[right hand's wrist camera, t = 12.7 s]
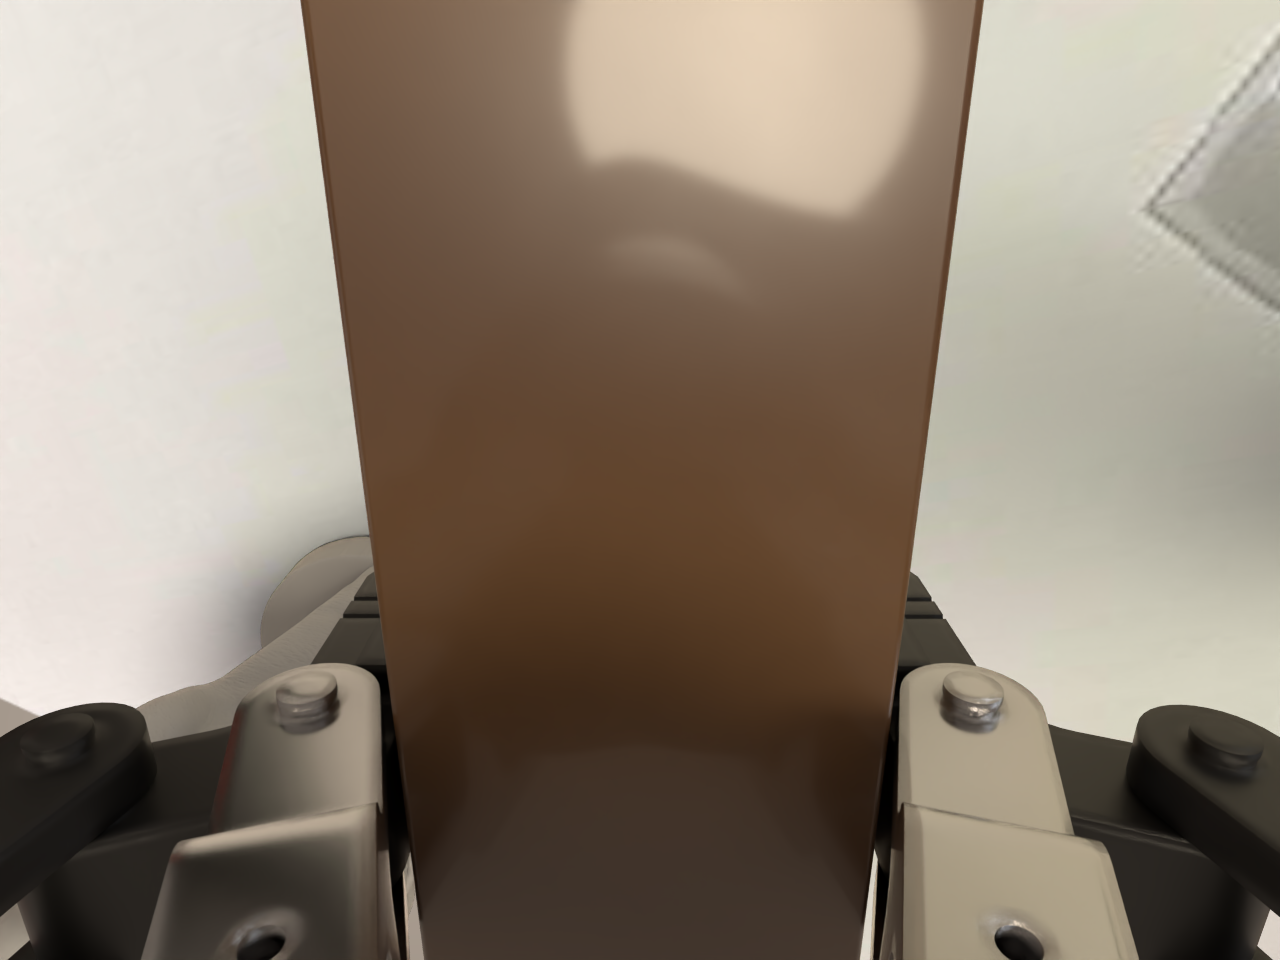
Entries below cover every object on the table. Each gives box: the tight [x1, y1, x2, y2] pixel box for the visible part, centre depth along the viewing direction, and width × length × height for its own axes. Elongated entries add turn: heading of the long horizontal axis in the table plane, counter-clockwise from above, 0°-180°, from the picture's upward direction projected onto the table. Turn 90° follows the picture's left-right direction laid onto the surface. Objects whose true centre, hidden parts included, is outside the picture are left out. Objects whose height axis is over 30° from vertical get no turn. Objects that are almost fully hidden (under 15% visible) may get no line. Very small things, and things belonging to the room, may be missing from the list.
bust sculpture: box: [0, 537, 415, 960], centre depth 37 cm, size 16×24×35 cm
